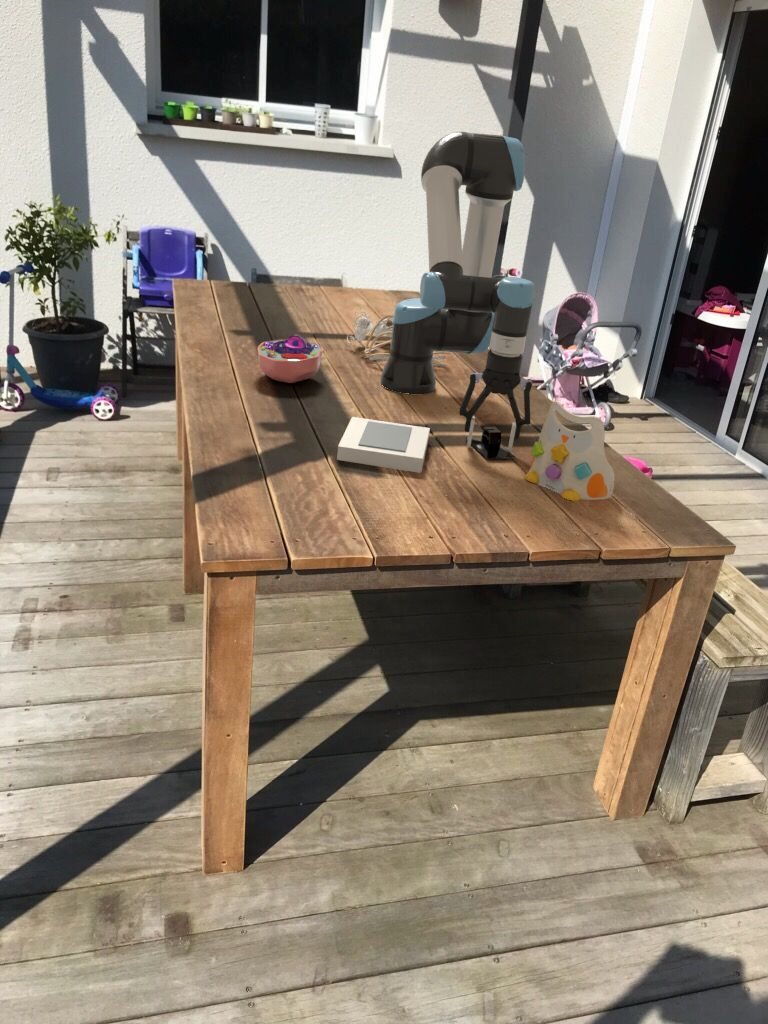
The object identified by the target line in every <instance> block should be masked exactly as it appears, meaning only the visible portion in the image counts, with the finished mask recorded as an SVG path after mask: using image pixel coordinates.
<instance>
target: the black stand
mask: <svg viewBox="0 0 768 1024" xmlns="http://www.w3.org/2000/svg"><path fill="white" fill-rule="evenodd" d="M502 433H503V432H502V431H501V430H499V429H498V428H497V427H496V426H484V427H483V430H482V433H481V434H482V435H481V437H472V440H471V445H472V447H474V448H475V449H476V450H477V451H478V452H479V453H480V454H481V455H482V456H483V457H485V459H486V460H487V459H488V460H494V459H514V458H516V455H515V454H514V453H513V452H509V451H508V448H507V447H505V446H504V445H503V444H502ZM465 440H466V441H467V442H468V437H466V438H465Z"/></svg>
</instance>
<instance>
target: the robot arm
mask: <svg viewBox="0 0 768 1024" xmlns="http://www.w3.org/2000/svg"><path fill="white" fill-rule="evenodd" d="M525 158H526V155H525V149H524V145H523V144H522V142H521V141H520V140H519V139H518V138H515V137H510V136H505V135H499V134H486V133H476V132H475V133H474V132H467V131H454V132H451V133H448V134H447V135H444V136H443V137H440V139H439V140H438V141H436V142H435V143H434V144H433V145H432V147H431V148H430V149H429V151H428V153H427V154H426V156H425V159H424V160H423V163H422V167H421V173H420V174H421V175H420V177H421V187H422V189H423V190H424V192H425V195H426V197H425V198H426V201H425V202H426V222H427V223H426V224H427V243H428V245H427V246H428V269H429V271H426V272H424V273H423V274H422V276H421V280H420V285H419V297H415V298H408V299H404V300H401V301H399V302H398V303H397V304H396V306H395V308H394V313H393V314H394V318H393V321H392V322H393V329H392V338H391V337H390V340H391V343H390V347H389V352H390V353H389V354H390V355H389V358H388V360H386V362H385V363H386V365H385V364H384V367H383V370H382V372H381V374H380V380H379V381H380V382H379V383H381V384H380V385H381V386H382V385H383V386H384V387H383V386H382V387H383V388H385V387H386V388H388V389H387V390H389V389H390V390H389V391H391V390H393V391H392V392H394V391H396V392H395V393H398V392H401V393H400V394H403V393H409V394H408V395H411V394H422V395H427V394H431V393H433V392H434V391H435V389H436V383H437V381H436V380H437V379H436V375H435V369H434V365H433V364H434V363H433V360H432V358H433V357H434V355H433V352H435V351H444V352H448V353H459V354H467V355H470V354H482V353H485V352H486V351H487V350H488V348H489V349H490V350H489V351H487V359H486V364H485V369H484V370H483V371H482V372H475V371H473V370H472V371H471V372H470V375H469V384H468V387H467V388H466V391H465V394H464V396H463V398H462V399H463V400H462V402H461V405H460V407H459V411H458V412H459V413H458V414H459V415H460V416H463V417H464V418H465V422H464V423H465V424H464V431H465V433H468V437H467V438H468V441H467V443H466V447H467V448H471V440H472V438H473V432H474V426H475V422H476V421H475V419H476V417H475V416H474V415H476V412H477V411H478V410H479V408H481V406H482V405H483V403H484V402H485V401H486V399H487V398H488V397H489V396H490V394H499V395H503V396H506V395H507V399H508V401H509V404H510V408H511V412H512V414H513V417H514V421H515V422H514V421H512V423H511V424H512V425H511V430H510V435H509V441H508V445H507V446H508V447H507V449H508V451H509V452H511V453H513V452H512V451H513V447H514V446H513V445H514V441H515V440H519V438H520V436H521V430H522V427H523V426H529V425H530V424H531V403H530V402H531V401H530V396H531V395H530V393H531V390H532V387H533V381H532V379H530V378H528V379H524V378H522V377H521V375H520V373H521V368H522V363H523V362H522V361H523V355H522V354H523V353H524V351H525V347H526V346H525V345H526V340H527V334H528V329H529V323H530V320H531V319H530V317H531V313H532V309H533V308H532V307H533V305H534V302H535V288H536V287H535V283H534V282H532V281H531V280H528V279H526V278H522V277H516V276H506V275H502V274H496V275H492V274H493V270H494V266H495V260H496V259H495V258H496V254H497V249H498V244H499V239H500V238H499V237H500V233H501V232H500V231H501V227H502V226H501V225H502V220H503V215H504V211H505V206H506V205H507V204H508V203H509V202H510V201H512V200H513V195H514V192H518V191H520V190H521V189H522V187H523V184H524V181H525V180H524V179H525V172H526V159H525ZM461 186H465V190H464V191H465V195H466V196H467V197H468V198H469V206H468V211H467V218H466V224H465V231H464V236H463V243H462V228H461V209H460V193H459V192H460V189H461ZM480 380H482V381H483V382H484V384H485V386H484V388H483V389H482V391H481V392H480V394H479V395H478V396H477V398H476V399H475V401H474V402H473V404H472V405H471V406H470V408H469V409H468V406H469V403H470V400H471V398H472V396H473V392H474V390H475V387H476V384H478V383H480ZM519 385H521V390H523V405H524V406H523V407H524V409H523V410H524V417H522V416H521V413H520V410H519V406H518V404H517V400H516V397H515V393H514V390H515V388H516V387H517V386H519ZM386 388H385V389H386Z"/></svg>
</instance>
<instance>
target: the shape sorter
mask: <svg viewBox="0 0 768 1024" xmlns="http://www.w3.org/2000/svg"><path fill="white" fill-rule="evenodd" d="M557 413H559V415H560V416H561V417H563V418H564V419H566V420H568V421H569V422H572V423H576V424H582V425H583V424H584V425H585V424H587V425H588V424H590V425H591V428H590V429H587V430H581V431H579V430H573V429H569V428H568V427H566V426H565V425H564V424H562V423H561V422H560V420H559V419H558V416H557ZM531 456H532V460H531V464H530V466H529V471H528V472H527V474H525V476H524V480H526V481H528V482H530V483H532V484H537V485H539V486H541V487H543V488H545V487H546V488H545V489H547V488H548V490H549V489H551V490H550V491H552V490H553V491H552V492H554V491H555V493H556V492H557V493H556V494H558V493H560V494H559V495H560V497H561V496H562V497H563V498H562V497H561V498H562V499H564V498H565V499H564V500H566V499H567V501H569V500H572V501H571V502H579V501H580V500H589V501H591V500H597V501H598V500H607V499H611V497H612V495H613V492H614V487H615V472H614V469H613V467H612V466H611V465H610V464H609V462H608V460H607V457H606V452H605V426H604V423H603V421H602V419H601V418H600V417H597V416H581V415H580V416H579V415H577V414H574V413H572V412H570V411H569V410H567V409H566V408H564V406H563V405H562V404H561V403H560V402H558V401H553V402H552V404H551V406H550V407H549V409H548V412H547V414H546V418H545V419H544V423H543V426H542V427H541V430H540V434H539V437H538V441H534V444H533V447H532V452H531ZM578 500H579V501H578Z"/></svg>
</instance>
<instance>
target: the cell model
mask: <svg viewBox="0 0 768 1024" xmlns="http://www.w3.org/2000/svg"><path fill="white" fill-rule="evenodd" d="M305 339H306V338H304V337H303V336H302V335H299V334H292V335H290V336H288V337H287V339H285V338H283V339H282V338H279V339H273V340H267V341H263V342H261V343H260V344H259V345H258V347H257V357H258V366H259V369H260V370H261V372H263V373H264V374H265V376H267V377H269V378H270V379H271V380H273V381H276V382H282V383H285V384H286V383H287V384H295V383H297V382H298V383H299V382H302V381H305V380H309V379H311V378H312V377H314V375H315V374H316V373H318V371H319V369H320V365H321V361H322V357H323V352H324V348H323V346H321V345H319V344H317V343H314V342H308V341H306V340H305Z"/></svg>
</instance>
